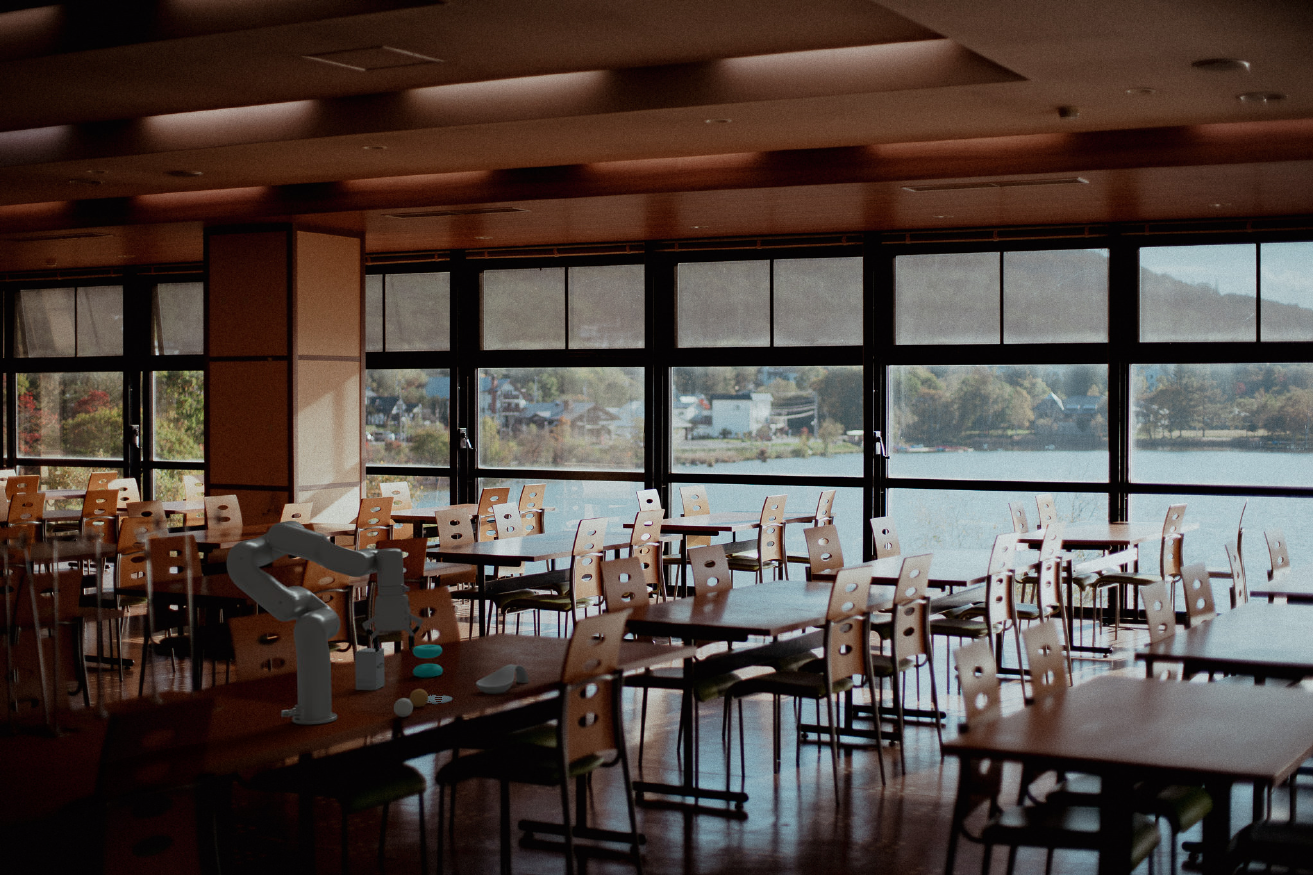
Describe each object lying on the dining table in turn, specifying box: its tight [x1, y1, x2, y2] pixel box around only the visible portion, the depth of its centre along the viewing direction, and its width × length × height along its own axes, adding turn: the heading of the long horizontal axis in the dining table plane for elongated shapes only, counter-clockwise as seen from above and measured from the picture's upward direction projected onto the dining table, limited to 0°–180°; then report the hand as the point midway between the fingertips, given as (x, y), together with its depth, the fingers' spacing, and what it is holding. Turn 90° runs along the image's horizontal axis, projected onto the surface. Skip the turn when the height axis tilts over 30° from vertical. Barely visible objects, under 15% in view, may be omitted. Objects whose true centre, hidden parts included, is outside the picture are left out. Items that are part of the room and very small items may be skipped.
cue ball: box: [393, 697, 414, 718], centre depth 393 cm, size 6×6×6 cm
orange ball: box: [409, 688, 429, 708], centre depth 407 cm, size 6×6×6 cm
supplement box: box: [354, 647, 385, 691], centre depth 439 cm, size 7×7×13 cm
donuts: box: [412, 644, 444, 678], centre depth 460 cm, size 10×10×10 cm
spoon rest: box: [475, 663, 530, 695], centre depth 434 cm, size 24×12×7 cm, turn 156°
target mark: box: [408, 694, 453, 705], centre depth 417 cm, size 14×14×1 cm
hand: (394, 650), depth 388 cm, fingers open, 9 cm apart
